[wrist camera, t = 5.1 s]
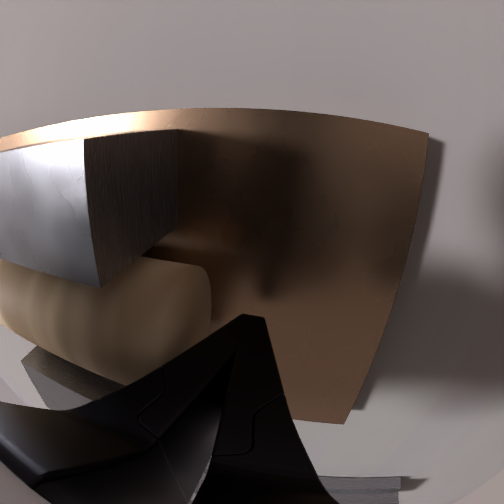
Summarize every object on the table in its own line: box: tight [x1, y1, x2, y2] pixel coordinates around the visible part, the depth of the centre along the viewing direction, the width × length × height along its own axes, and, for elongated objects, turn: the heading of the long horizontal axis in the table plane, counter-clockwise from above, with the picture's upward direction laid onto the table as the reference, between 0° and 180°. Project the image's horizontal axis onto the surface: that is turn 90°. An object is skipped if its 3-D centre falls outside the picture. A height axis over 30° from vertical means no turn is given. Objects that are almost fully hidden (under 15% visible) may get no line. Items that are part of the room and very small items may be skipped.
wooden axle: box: [0, 256, 212, 386], centre depth 9 cm, size 14×4×4 cm, turn 87°
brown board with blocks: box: [0, 108, 429, 424], centre depth 10 cm, size 22×12×5 cm, turn 87°
